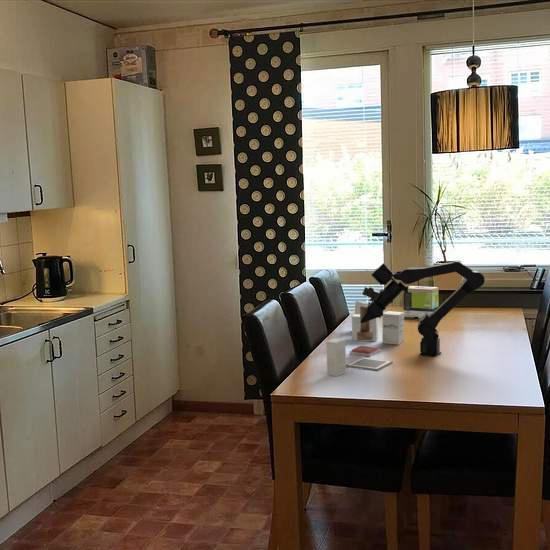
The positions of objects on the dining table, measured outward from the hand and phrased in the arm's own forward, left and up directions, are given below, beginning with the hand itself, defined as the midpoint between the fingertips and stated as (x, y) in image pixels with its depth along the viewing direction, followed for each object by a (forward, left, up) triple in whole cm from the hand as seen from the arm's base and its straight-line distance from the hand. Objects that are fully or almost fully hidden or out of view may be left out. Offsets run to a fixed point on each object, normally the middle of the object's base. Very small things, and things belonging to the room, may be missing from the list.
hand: (361, 321), depth 270 cm
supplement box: (-3, -23, -13) cm, 26 cm away
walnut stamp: (-1, -1, -7) cm, 7 cm away
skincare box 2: (+10, -23, -13) cm, 28 cm away
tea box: (+9, -82, -13) cm, 83 cm away
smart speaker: (+18, -38, -13) cm, 43 cm away
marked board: (-11, +15, -12) cm, 22 cm away
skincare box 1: (-6, +31, -13) cm, 35 cm away
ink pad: (-1, -1, -12) cm, 13 cm away
